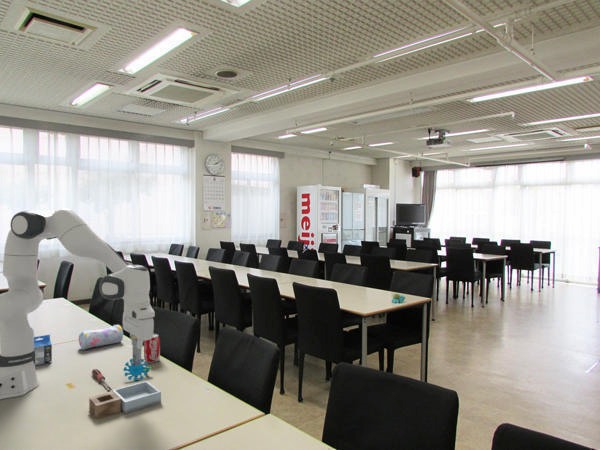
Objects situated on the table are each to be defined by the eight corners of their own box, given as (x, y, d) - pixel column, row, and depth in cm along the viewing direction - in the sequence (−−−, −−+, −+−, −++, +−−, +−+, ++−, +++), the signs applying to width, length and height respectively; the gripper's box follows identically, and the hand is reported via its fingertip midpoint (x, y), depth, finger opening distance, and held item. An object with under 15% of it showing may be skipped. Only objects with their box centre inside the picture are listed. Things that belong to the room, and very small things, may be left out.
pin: (134, 366, 149) (134, 336, 148) (131, 364, 151) (131, 334, 151) (142, 364, 151) (142, 334, 151) (139, 362, 153) (139, 333, 153)
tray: (124, 413, 142) (125, 402, 142) (112, 400, 152) (112, 390, 152) (161, 402, 151) (161, 391, 151) (146, 390, 160) (146, 380, 160)
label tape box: (29, 367, 183) (29, 339, 182) (27, 364, 186) (27, 337, 185) (51, 362, 188) (51, 336, 188) (50, 360, 192) (50, 334, 191)
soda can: (163, 359, 195) (163, 334, 195) (153, 364, 189) (153, 338, 188) (150, 357, 198) (150, 332, 197) (140, 362, 191) (140, 336, 191)
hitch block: (96, 419, 138) (96, 405, 138) (89, 410, 144) (89, 397, 144) (120, 411, 144) (120, 398, 143) (113, 403, 149) (113, 391, 149)
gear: (122, 379, 167) (124, 356, 174) (120, 385, 171) (123, 363, 177) (151, 379, 171) (152, 356, 178) (148, 385, 175) (150, 363, 182)
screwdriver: (115, 393, 159) (115, 385, 159) (107, 395, 157) (107, 387, 157) (97, 373, 178) (97, 366, 178) (90, 375, 176) (90, 368, 176)
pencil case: (117, 339, 225) (117, 322, 224) (125, 343, 219) (125, 325, 219) (76, 348, 209) (76, 330, 209) (83, 352, 203) (83, 333, 203)
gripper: (118, 305, 156) (118, 341, 156) (139, 315, 141) (139, 355, 141) (134, 303, 160) (134, 338, 161) (157, 313, 145) (156, 351, 146)
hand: (136, 346), depth 151 cm, fingers closed on pin, 3 cm apart
